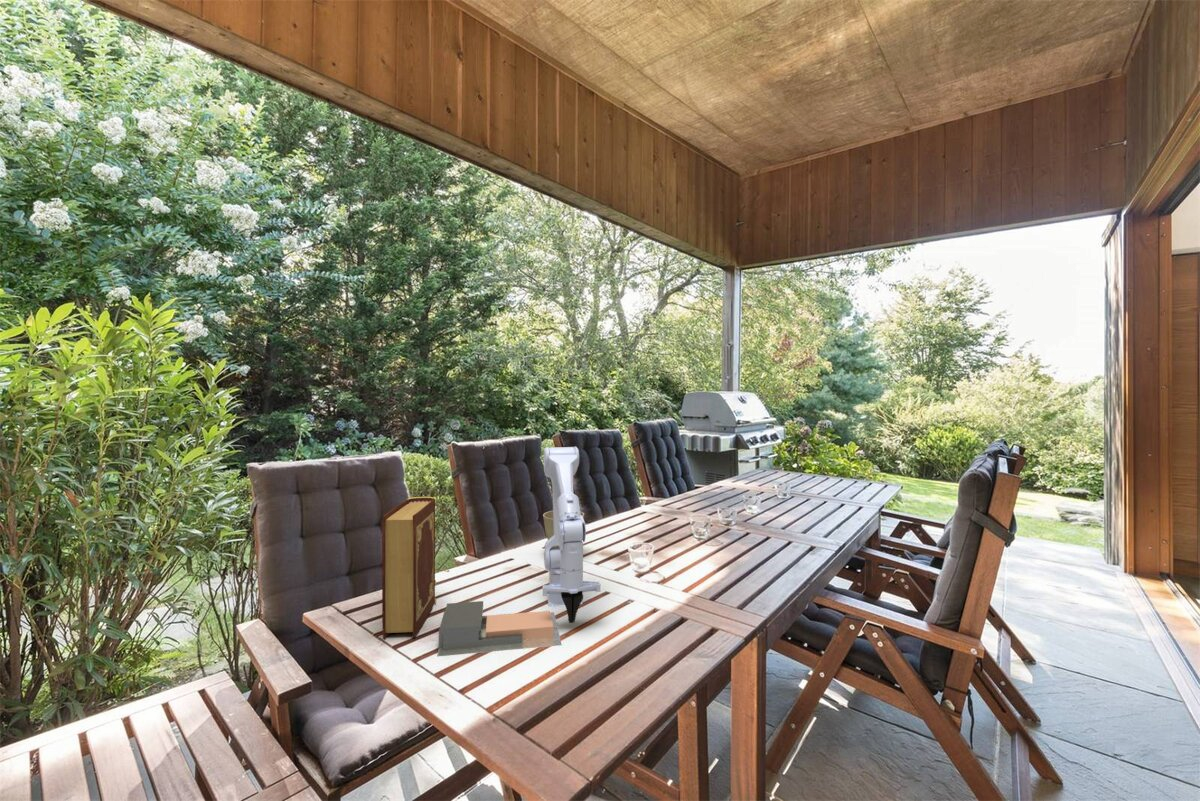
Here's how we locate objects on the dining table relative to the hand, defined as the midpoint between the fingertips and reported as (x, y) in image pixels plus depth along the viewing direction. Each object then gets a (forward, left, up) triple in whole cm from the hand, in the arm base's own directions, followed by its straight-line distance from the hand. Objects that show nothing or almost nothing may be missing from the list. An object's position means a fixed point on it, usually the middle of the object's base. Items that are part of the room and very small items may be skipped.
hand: (571, 621), depth 126 cm
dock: (+17, 0, -2) cm, 18 cm away
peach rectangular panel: (+13, 0, -1) cm, 13 cm away
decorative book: (+41, -13, -2) cm, 43 cm away
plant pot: (-4, -55, -2) cm, 55 cm away
